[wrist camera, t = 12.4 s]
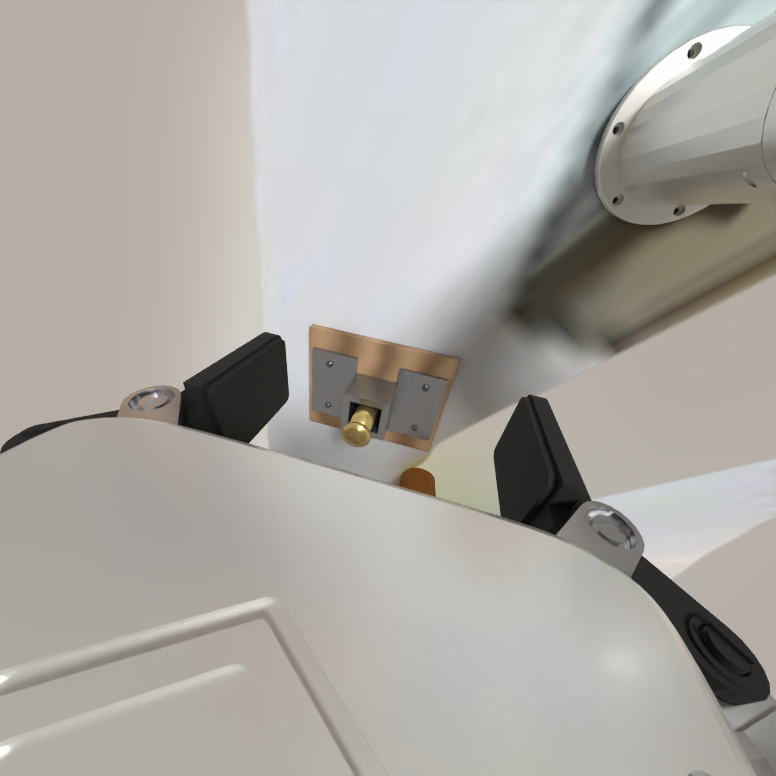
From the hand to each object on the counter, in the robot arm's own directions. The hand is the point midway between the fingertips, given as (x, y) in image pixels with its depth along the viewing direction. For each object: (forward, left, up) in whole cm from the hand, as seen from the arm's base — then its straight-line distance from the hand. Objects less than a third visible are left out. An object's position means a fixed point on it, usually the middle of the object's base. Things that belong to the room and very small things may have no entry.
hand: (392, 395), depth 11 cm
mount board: (+5, +20, -28) cm, 35 cm away
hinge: (+5, +20, -27) cm, 34 cm away
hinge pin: (+5, +20, -27) cm, 34 cm away
